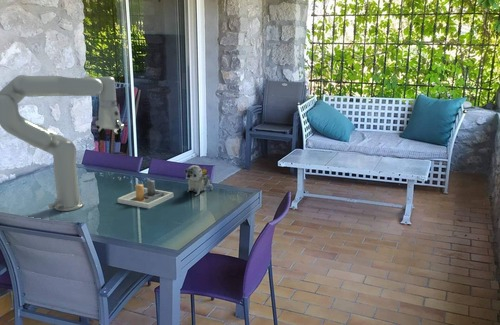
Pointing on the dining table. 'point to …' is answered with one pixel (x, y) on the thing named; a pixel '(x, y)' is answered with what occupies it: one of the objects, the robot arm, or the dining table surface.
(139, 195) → the jaw orange
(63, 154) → the robot arm
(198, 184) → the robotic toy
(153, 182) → the jaw grey
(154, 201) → the tray
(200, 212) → the dining table surface
